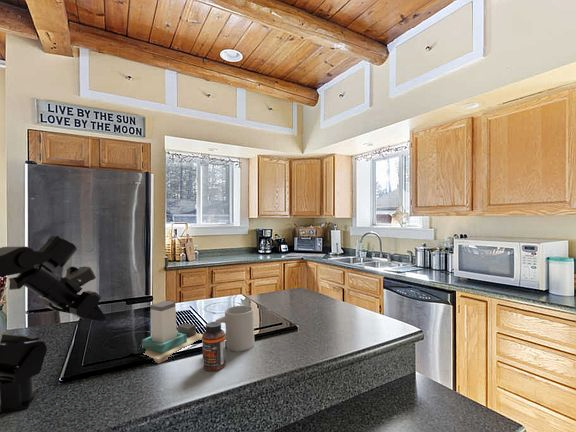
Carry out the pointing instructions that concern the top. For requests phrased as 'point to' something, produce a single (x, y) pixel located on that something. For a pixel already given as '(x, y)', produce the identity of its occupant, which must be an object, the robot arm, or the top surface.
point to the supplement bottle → (213, 347)
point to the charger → (163, 321)
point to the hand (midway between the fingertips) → (95, 316)
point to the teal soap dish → (171, 343)
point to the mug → (238, 328)
